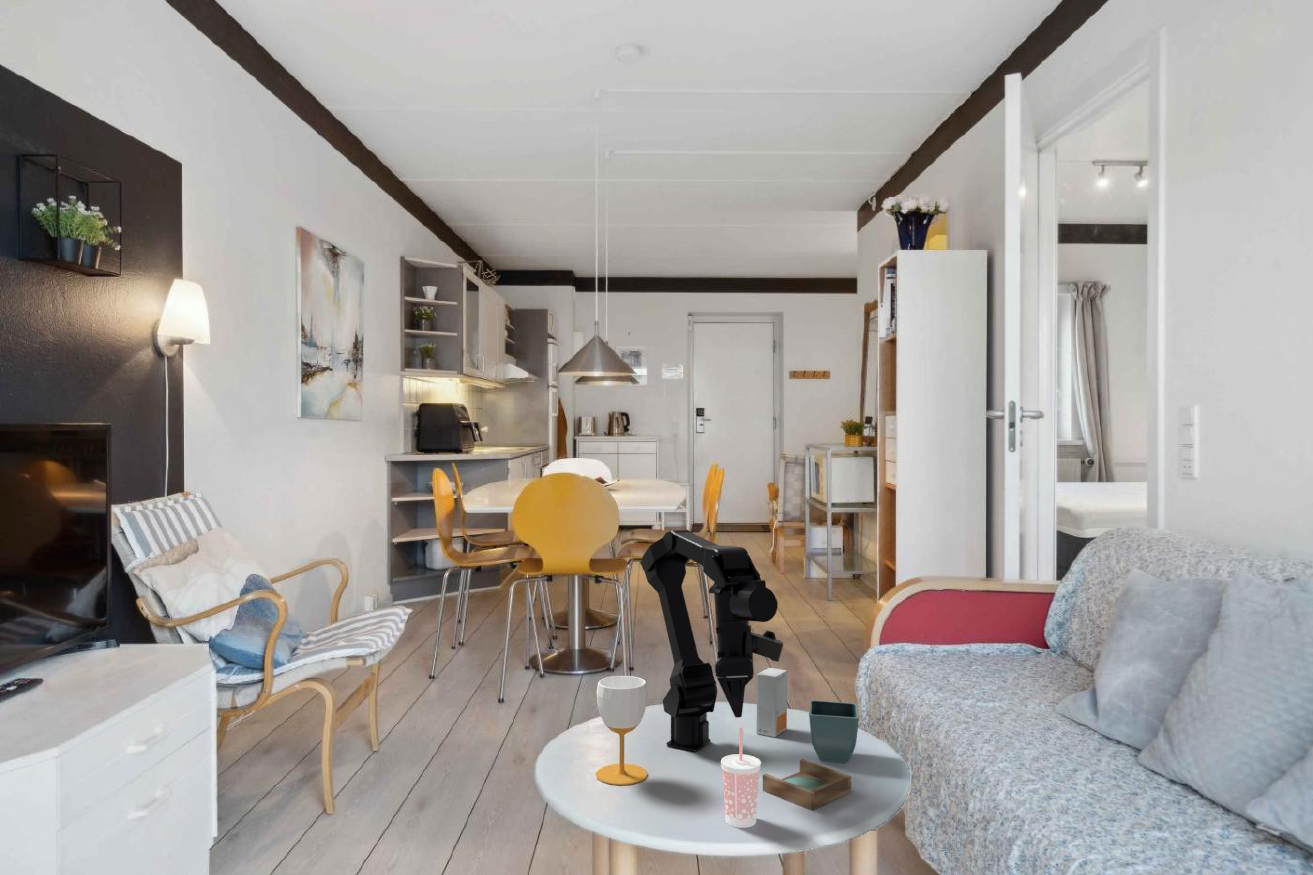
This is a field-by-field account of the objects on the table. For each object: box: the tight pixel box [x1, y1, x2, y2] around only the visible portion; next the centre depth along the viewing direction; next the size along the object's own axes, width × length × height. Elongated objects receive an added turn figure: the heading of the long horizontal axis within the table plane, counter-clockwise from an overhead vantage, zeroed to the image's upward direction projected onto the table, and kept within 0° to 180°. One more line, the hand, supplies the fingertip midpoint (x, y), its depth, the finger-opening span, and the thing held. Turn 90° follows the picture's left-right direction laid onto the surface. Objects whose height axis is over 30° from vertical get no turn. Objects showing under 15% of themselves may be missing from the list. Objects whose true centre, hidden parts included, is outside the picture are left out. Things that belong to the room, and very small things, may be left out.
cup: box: [595, 675, 649, 786], centre depth 141 cm, size 9×9×16 cm
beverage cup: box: [720, 727, 762, 829], centre depth 124 cm, size 6×6×14 cm
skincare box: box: [755, 667, 788, 738], centre depth 163 cm, size 6×4×12 cm
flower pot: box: [808, 699, 860, 763], centre depth 150 cm, size 9×9×9 cm
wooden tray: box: [762, 758, 852, 811], centre depth 135 cm, size 10×11×3 cm
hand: (738, 711), depth 140 cm, fingers open, 9 cm apart
